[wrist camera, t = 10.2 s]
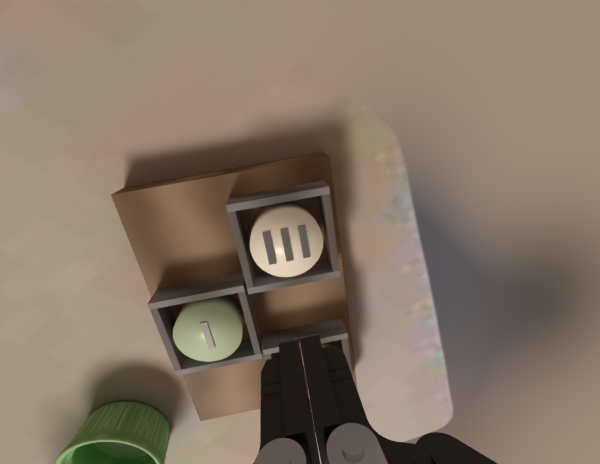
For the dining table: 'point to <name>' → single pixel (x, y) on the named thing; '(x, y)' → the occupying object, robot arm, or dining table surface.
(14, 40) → the dining table surface
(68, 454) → the ramekin
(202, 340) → the button sage
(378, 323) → the dining table surface
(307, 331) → the button panel
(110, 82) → the dining table surface
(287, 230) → the button cream
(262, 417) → the robot arm
